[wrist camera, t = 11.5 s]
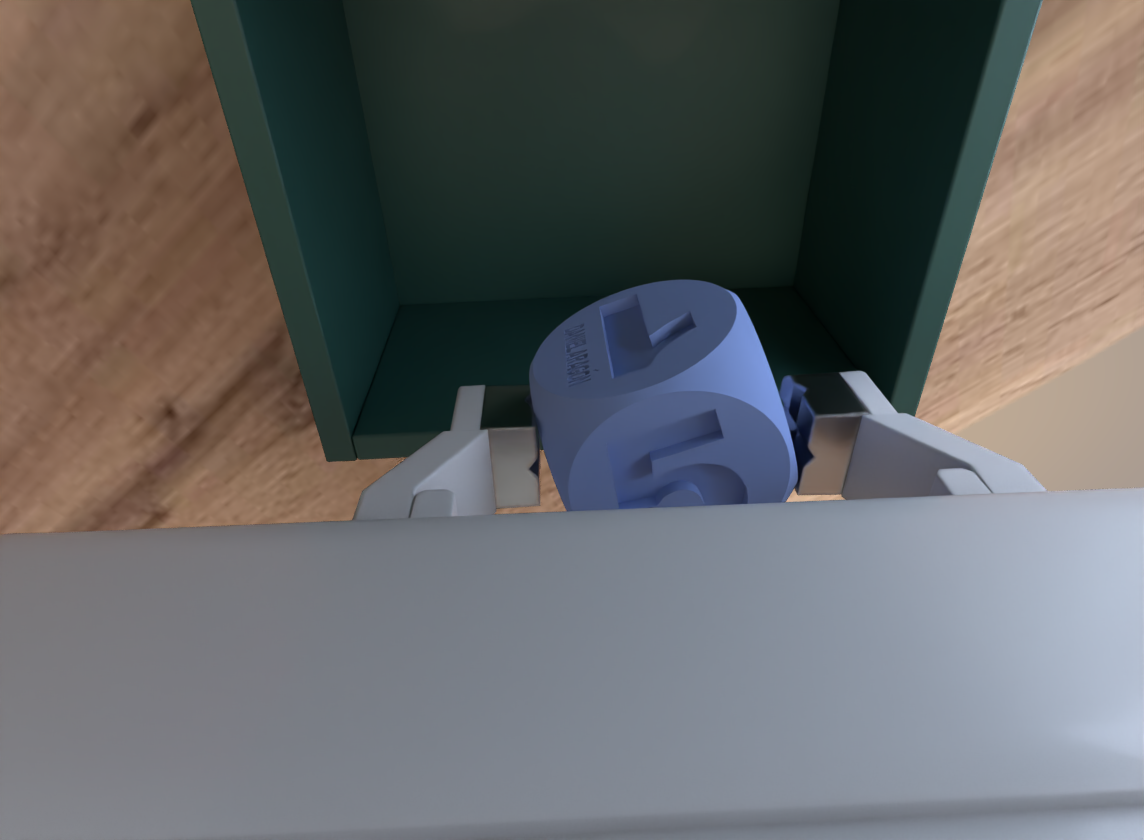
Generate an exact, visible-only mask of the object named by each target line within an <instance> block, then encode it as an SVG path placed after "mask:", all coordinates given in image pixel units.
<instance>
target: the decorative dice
mask: <svg viewBox="0 0 1144 840" xmlns="http://www.w3.org/2000/svg"><path fill="white" fill-rule="evenodd" d="M529 382H530V392H531V399H532V405H533V410H534V413H535V414H536V423H537V427H538V431H539V435H540V439H541V442H542V446H543V449H544V452H545V455H546V459H547V462H548V465H549V468H550V471H551V473H552V476H553V479H554V482H555V484H556V487H557V489H558V492H559V494H560V497H561V499H562V501H563V504H564V506H565V508H566V510H567V511H589V510H613V509H637V508H661V507H685V506H709V505H733V504H757V503H781V502H786V500H787V499H788V497H789V496H790V494H791V493H792V491H793V489H794V487H795V485H796V483H797V481H798V469H797V462H796V457H795V452H794V447H793V443H792V439H791V435H790V431H789V427H788V423H787V420H786V416H785V413H784V409H783V406H782V403H781V400H780V396H779V393H778V390H777V387H776V384H775V381H774V378H773V375H772V372H771V370H770V367H769V364H768V361H767V358H766V356H765V353H764V351H763V348H762V345H761V343H760V340H759V338H758V335H757V333H756V331H755V328H754V326H753V324H752V322H751V320H750V317H749V315H748V313H747V311H746V309H745V307H744V306H743V304H742V302H741V300H740V299H739V297H738V296H737V295H736V294H735V293H733V292H731V291H729V290H727V289H725V288H722V287H720V286H718V285H715V284H712V283H709V282H705V281H699V280H668V281H660V282H654V283H649V284H644V285H640V286H636V287H633V288H630V289H626V290H623V291H620V292H618V293H615V294H612V295H610V296H608V297H605V298H603V299H601V300H599V301H597V302H595V303H593V304H591V305H589V306H587V307H585V308H583V309H582V310H580V311H578V312H577V313H575V314H574V315H572V316H571V317H569V318H568V319H567V320H565V321H564V322H563V323H561V324H560V325H559V326H558V327H557V328H556V329H555V330H553V331H552V332H551V333H550V335H549V336H548V337H547V338H546V339H545V340H544V341H543V343H542V344H541V346H540V347H539V349H538V351H537V353H536V355H535V357H534V359H533V361H532V363H531V365H530V371H529Z"/></svg>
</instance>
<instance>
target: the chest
mask: <svg viewBox="0 0 1144 840" xmlns="http://www.w3.org/2000/svg"><path fill="white" fill-rule="evenodd" d="M190 1H191V4H192V7H193V11H194V14H195V17H196V21H197V24H198V28H199V31H200V34H201V38H202V41H203V44H204V48H205V51H206V55H207V58H208V61H209V65H210V68H211V71H212V75H213V78H214V82H215V85H216V88H217V92H218V95H219V99H220V102H221V105H222V109H223V112H224V115H225V119H226V122H227V126H228V129H229V132H230V136H231V139H232V142H233V146H234V149H235V153H236V156H237V159H238V163H239V166H240V169H241V173H242V176H243V180H244V183H245V186H246V190H247V193H248V196H249V200H250V203H251V207H252V210H253V213H254V217H255V220H256V223H257V227H258V230H259V234H260V237H261V240H262V244H263V247H264V251H265V254H266V257H267V261H268V264H269V267H270V271H271V274H272V278H273V281H274V284H275V288H276V291H277V294H278V298H279V301H280V305H281V308H282V311H283V315H284V318H285V321H286V325H287V328H288V332H289V335H290V338H291V342H292V345H293V348H294V352H295V355H296V359H297V362H298V365H299V369H300V372H301V375H302V379H303V382H304V386H305V389H306V392H307V396H308V399H309V403H310V406H311V409H312V413H313V416H314V419H315V423H316V426H317V430H318V433H319V436H320V440H321V443H322V446H323V450H324V453H325V457H326V460H327V462H336V461H355V460H356V459H357V458H358V459H360V460H364V459H382V458H401V457H409V456H410V455H412V454H413V453H414V452H416V451H417V450H419V449H420V448H421V447H423V446H424V445H425V444H427V443H428V442H429V441H431V440H432V439H433V438H435V437H436V436H438V435H439V434H440V433H442V432H443V431H450V429H451V424H452V419H453V413H454V408H455V403H456V398H457V393H458V389H459V388H460V387H461V386H475V385H485V386H487V385H530V382H529V371H530V365H531V363H532V361H533V359H534V357H535V355H536V353H537V351H538V349H539V347H540V346H541V344H542V343H543V341H544V340H545V339H546V338H547V337H548V336H549V335H550V333H551V332H552V331H553V330H555V329H556V328H557V327H558V326H559V325H560V324H561V323H563V322H564V321H565V320H567V319H568V318H569V317H571V316H572V315H574V314H575V313H577V312H578V311H580V310H582V309H583V308H585V307H587V306H589V305H591V304H593V303H595V302H597V301H599V300H601V299H603V298H605V297H608V296H610V295H612V294H615V293H618V292H620V291H623V290H626V289H630V288H633V287H636V286H640V285H644V284H649V283H654V282H660V281H668V280H699V281H705V282H709V283H712V284H715V285H718V286H720V287H722V288H725V289H727V290H729V291H731V292H733V293H735V294H736V295H737V296H738V297H739V299H740V300H741V302H742V304H743V306H744V307H745V309H746V311H747V313H748V315H749V317H750V320H751V322H752V324H753V326H754V328H755V331H756V333H757V335H758V338H759V340H760V343H761V345H762V348H763V351H764V353H765V356H766V358H767V361H768V364H769V367H770V370H771V372H772V375H773V378H774V381H775V384H776V387H777V390H778V393H779V392H780V386H781V382H782V380H783V378H784V376H788V375H801V374H817V373H833V372H848V371H863V372H865V373H866V374H867V375H868V376H869V378H870V379H871V380H872V381H873V383H874V384H875V385H876V386H877V388H878V389H879V390H880V391H881V393H882V394H883V395H884V396H885V398H886V399H887V400H888V401H889V403H890V404H891V405H892V406H893V408H894V409H895V410H896V411H897V413H907V414H909V415H911V416H913V417H915V414H916V410H917V407H918V404H919V401H920V397H921V394H922V391H923V388H924V384H925V381H926V378H927V375H928V371H929V368H930V365H931V362H932V358H933V355H934V352H935V349H936V345H937V342H938V339H939V336H940V332H941V329H942V326H943V323H944V319H945V316H946V313H947V310H948V306H949V303H950V300H951V297H952V293H953V290H954V287H955V284H956V280H957V277H958V274H959V271H960V267H961V264H962V261H963V258H964V254H965V251H966V248H967V245H968V241H969V238H970V235H971V232H972V228H973V225H974V222H975V219H976V215H977V212H978V209H979V206H980V202H981V199H982V196H983V193H984V189H985V186H986V183H987V180H988V176H989V173H990V170H991V167H992V163H993V160H994V157H995V154H996V150H997V147H998V144H999V141H1000V137H1001V134H1002V131H1003V128H1004V124H1005V121H1006V118H1007V115H1008V111H1009V108H1010V105H1011V102H1012V98H1013V95H1014V92H1015V89H1016V85H1017V82H1018V79H1019V76H1020V72H1021V69H1022V66H1023V63H1024V59H1025V56H1026V53H1027V50H1028V46H1029V43H1030V40H1031V37H1032V33H1033V30H1034V27H1035V24H1036V20H1037V17H1038V14H1039V11H1040V7H1041V4H1042V1H1043V0H190ZM780 400H781V403H782V406H783V405H784V403H783V401H782V399H781V398H780ZM540 450H544V449H543V446H542V442H541V439H540Z"/></svg>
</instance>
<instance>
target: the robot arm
mask: <svg viewBox="0 0 1144 840" xmlns="http://www.w3.org/2000/svg"><path fill="white" fill-rule="evenodd" d="M779 396H780V398H781V399H782V401H783V403H784V405H783V409H784V413H785V416H786V420H787V423H788V427H789V431H790V435H791V439H792V443H793V447H794V452H795V457H796V462H797V469H798V481H797V483H796V485H795V487H794V489H795V491H796V493H797V495H836V494H842V497H843V498H845V499H846V500H828V501H805V502H781V503H757V504H733V505H709V506H685V507H661V508H637V509H613V510H589V511H565V512H541V513H517V514H494V513H495V512H496V509H500V508H515V507H529V506H540V435H539V431H538V427H537V423H536V414H535V413H534V410H533V405H532V399H531V392H530V385H487V386H485V385H475V386H461V387H460V388H459V389H458V393H457V398H456V403H455V408H454V413H453V419H452V424H451V429H450V431H443V432H442V433H440V434H439V435H438V436H436V437H435V438H433V439H432V440H431V441H429V442H428V443H427V444H425V445H424V446H423V447H421V448H420V449H419V450H417V451H416V452H414V453H413V454H412V455H410V456H409V457H408V458H406V459H405V460H404V461H402V462H401V463H400V464H398V465H397V466H395V467H394V468H393V469H391V470H390V471H389V472H387V473H386V474H385V475H383V476H382V477H381V478H379V479H378V480H376V481H375V482H374V483H372V484H371V485H370V486H368V487H367V488H366V489H364V490H363V491H362V493H361V496H360V499H359V502H358V505H357V508H356V511H355V513H354V516H353V519H352V520H351V521H327V522H303V523H278V524H254V525H230V526H206V527H181V528H157V529H133V530H109V531H84V532H58V533H13V534H0V840H1144V487H1141V488H1118V489H1117V488H1115V489H1094V490H1093V489H1091V490H1069V491H1068V490H1067V491H1047V490H1046V489H1045V488H1044V487H1043V486H1042V485H1041V484H1040V483H1039V482H1038V480H1037V479H1036V478H1035V477H1034V476H1033V475H1032V474H1031V473H1030V472H1029V471H1028V470H1027V469H1026V468H1025V467H1024V466H1023V465H1022V464H1020V463H1018V462H1015V461H1013V460H1011V459H1009V458H1006V457H1004V456H1002V455H1000V454H997V453H995V452H993V451H991V450H988V449H986V448H983V447H981V446H979V445H977V444H975V443H972V442H970V441H968V440H965V439H963V438H961V437H959V436H957V435H954V434H952V433H950V432H947V431H945V430H943V429H941V428H938V427H936V426H934V425H932V424H929V423H927V422H925V421H923V420H920V419H918V418H916V417H913V416H911V415H909V414H907V413H897V411H896V410H895V409H894V408H893V406H892V405H891V404H890V403H889V401H888V400H887V399H886V398H885V396H884V395H883V394H882V393H881V391H880V390H879V389H878V388H877V386H876V385H875V384H874V383H873V381H872V380H871V379H870V378H869V376H868V375H867V374H866V373H865V372H863V371H848V372H833V373H817V374H801V375H788V376H784V378H783V380H782V382H781V386H780V392H779Z"/></svg>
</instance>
